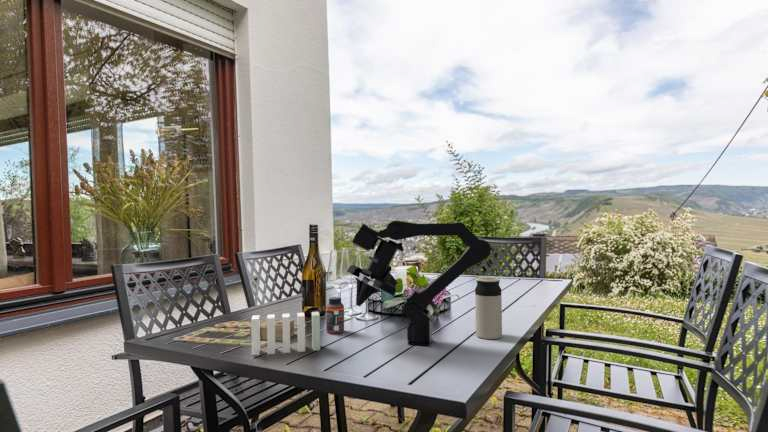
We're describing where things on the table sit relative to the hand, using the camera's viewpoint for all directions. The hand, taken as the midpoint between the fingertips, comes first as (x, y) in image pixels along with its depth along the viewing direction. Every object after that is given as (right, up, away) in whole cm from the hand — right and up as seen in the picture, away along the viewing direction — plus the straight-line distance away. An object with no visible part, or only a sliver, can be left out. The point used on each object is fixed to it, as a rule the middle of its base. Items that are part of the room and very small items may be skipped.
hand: (357, 305), depth 132 cm
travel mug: (+40, -11, +7) cm, 43 cm away
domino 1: (-28, -12, -6) cm, 31 cm away
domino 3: (-20, -12, -4) cm, 24 cm away
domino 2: (-24, -12, -5) cm, 28 cm away
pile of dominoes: (-38, -13, +16) cm, 44 cm away
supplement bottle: (-8, -12, +15) cm, 21 cm away
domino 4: (-16, -12, -3) cm, 20 cm away
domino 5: (-12, -12, -2) cm, 17 cm away
